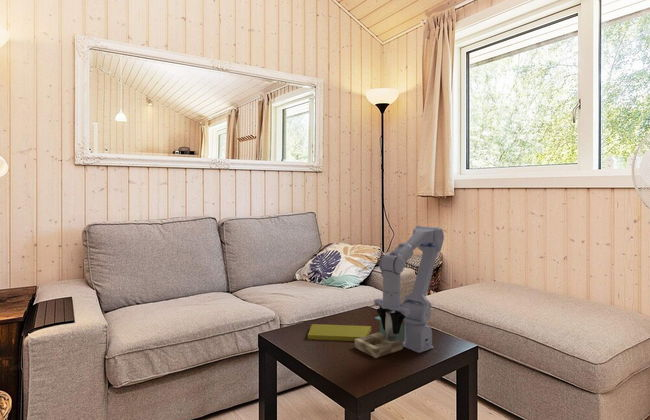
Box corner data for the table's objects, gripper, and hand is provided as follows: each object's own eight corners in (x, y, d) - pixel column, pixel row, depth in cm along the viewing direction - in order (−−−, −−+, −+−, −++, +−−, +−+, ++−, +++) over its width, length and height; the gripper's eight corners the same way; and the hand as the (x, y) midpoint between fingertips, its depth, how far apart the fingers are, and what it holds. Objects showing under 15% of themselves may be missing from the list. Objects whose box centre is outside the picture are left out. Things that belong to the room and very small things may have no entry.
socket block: (402, 349, 141) (402, 340, 141) (375, 358, 134) (375, 349, 134) (381, 339, 150) (381, 331, 150) (354, 347, 143) (354, 339, 143)
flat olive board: (307, 340, 150) (371, 343, 148) (307, 334, 150) (371, 337, 148) (312, 329, 163) (371, 331, 160) (312, 324, 162) (371, 326, 160)
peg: (399, 339, 132) (400, 312, 132) (391, 342, 130) (391, 314, 129) (391, 335, 135) (391, 309, 135) (382, 338, 133) (382, 311, 133)
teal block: (402, 340, 141) (403, 323, 141) (395, 342, 139) (396, 325, 139) (381, 331, 150) (381, 315, 150) (374, 333, 148) (374, 317, 148)
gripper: (367, 288, 135) (367, 327, 136) (399, 297, 124) (398, 340, 124) (382, 285, 139) (382, 323, 140) (414, 294, 128) (414, 335, 128)
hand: (391, 331), depth 133 cm, fingers closed on peg, 4 cm apart
